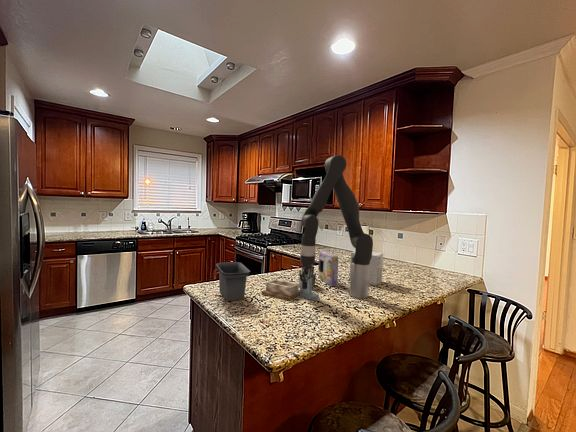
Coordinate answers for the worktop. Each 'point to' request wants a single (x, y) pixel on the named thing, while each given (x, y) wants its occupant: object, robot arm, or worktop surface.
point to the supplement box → (373, 267)
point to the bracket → (308, 290)
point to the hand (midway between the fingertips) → (306, 287)
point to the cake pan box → (328, 268)
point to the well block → (281, 289)
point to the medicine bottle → (312, 279)
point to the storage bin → (232, 280)
